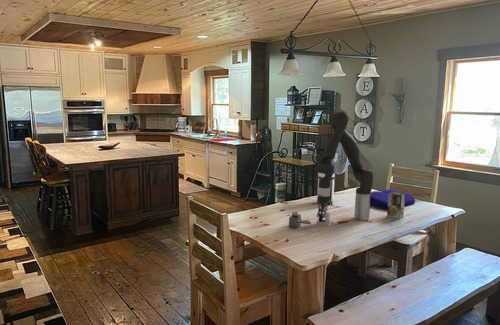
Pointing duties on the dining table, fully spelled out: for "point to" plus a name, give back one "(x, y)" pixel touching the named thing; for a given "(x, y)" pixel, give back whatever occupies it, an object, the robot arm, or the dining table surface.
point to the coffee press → (330, 186)
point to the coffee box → (396, 205)
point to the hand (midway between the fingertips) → (322, 219)
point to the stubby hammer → (296, 221)
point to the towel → (381, 199)
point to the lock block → (324, 222)
